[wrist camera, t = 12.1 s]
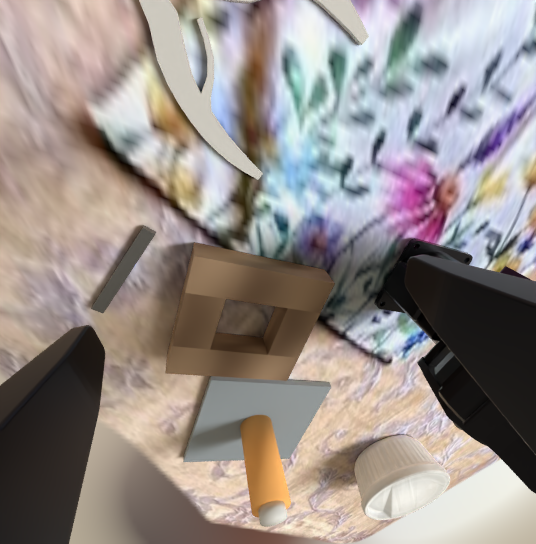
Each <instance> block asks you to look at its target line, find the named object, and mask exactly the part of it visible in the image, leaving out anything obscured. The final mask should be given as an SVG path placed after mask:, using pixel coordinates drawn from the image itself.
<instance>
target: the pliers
mask: <svg viewBox="0 0 536 544" xmlns="http://www.w3.org/2000/svg"><path fill="white" fill-rule="evenodd" d="M139 1H140V4H141V6H142V9H143V11H144V13H145V16H146V18H147V21H148V23H149V27H150V31H151V35H152V40H153V44H154V48H155V53H156V57H157V61H158V63H159V65H160V68H161V70H162V72H163V75H164V77H165V80H166V82H167V84H168V86H169V88H170V90H171V91H172V93H173V95H174V97H175V98H176V100H177V102H178V104H179V105H180V107H181V108H182V110H183V111H184V113H185V114H186V116H187V117H188V119H189V120H190V121H191V123H192V124H193V125H194V127H195V128H196V129H197V130H198V132H199V133H200V134H201V135H202V137H203V138H204V139H205V140H206V141H207V142H208V143H209V144H210V145H211V146H212V147H213V148H214V149H215V150H216V151H217V152H218V153H219V154H220V155H222V156H223V157H224V158H225V159H226V160H227V161H229V162H230V163H231V164H233V165H234V166H236V167H237V168H239V169H240V170H242V171H243V172H245V173H247V174H249V175H250V176H252V177H254V178H256V179H257V180H258V179H259V178H260V177H261V175H262V174H263V173H262V172H261V171H260V170H259V169H258V168H257V167H256V166H255V165H254V164H253V163H252V162H251V161H250V160H249V159H248V158H247V157H246V155H245V154H244V153H243V152H242V151H241V150H240V149H239V148H238V146H237V145H236V144H235V143H234V142H233V141H232V139H231V138H230V137H229V136H228V134H227V133H226V131H225V130H224V129H223V127H222V126H221V124H220V123H219V122H218V120H217V119H216V117H215V116H214V114H213V113H212V111H211V93H212V88H213V82H214V57H213V53H212V48H211V44H210V40H209V36H208V33H207V30H206V27H205V24H204V21H203V18H202V17H201V18H199V19H197V22H198V25H199V28H200V31H201V34H202V37H203V41H204V45H205V50H206V55H207V78H206V81H205V84H204V87H203V89H202V92H201V93H200V90H199V88H198V86H197V84H196V82H195V80H194V78H193V76H192V72H191V69H190V65H189V61H188V57H187V53H186V49H185V45H184V40H183V36H182V31H181V27H180V22H179V18H178V13H177V11H176V10H175V8H174V7H173V5H172V3H171V2H170V0H139ZM225 1H229V2H237V3H252V2H256V1H260V0H225ZM313 1H314V2H316V3H317V4H318V5H320V6H321V7H322V8H323V9H324V10H325V11H326V12H327V13H328V14H329V15H330V16H332V17H333V18H334V19H335V20H336V21H337V22H338V23H339V24H340V25H341V26H342V27H343V28H344V29H345V30H346V31H347V32H348V33H349V34H350V36H351V37H352V38H353V39H354V40H355V41H356V42H357V43H358V44H359V45H362V44H363V43H364V42H365V40H366V39H367V38H368V37H369V36H368V34H367V31H366V29H365V27H364V25H363V23H362V21H361V19H360V17H359V15H358V13H357V11H356V10H355V8H354V6H353V4H352V2H351V1H350V0H313Z"/></svg>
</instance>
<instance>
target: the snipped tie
mask: <svg viewBox="0 0 536 544" xmlns="http://www.w3.org/2000/svg"><path fill="white" fill-rule="evenodd" d="M155 233H156V232H155V231H153V230H151V229H149V228H148V227H146V226H143V227H142V229H141V230H140V232H139V234H138V235H137V237H136V238H135V240H134V241H133V243H132V245H131V246H130V248H129V249H128V251H127V252H126V254H125V256H124V257H123V259H122V260H121V262H120V263H119V265H118V267H117V268H116V270H115V271H114V273H113V274H112V276H111V278H110V279H109V281H108V282H107V284H106V285H105V287H104V289H103V290H102V292H101V293H100V295H99V296H98V298H97V300H96V301H95V303H94V304H93V306H92V308H91V309H93V310H95V311H98V312H101V313H104V311H105V310H106V308H107V307H108V305H109V304H110V302H111V301H112V299H113V298H114V296H115V295H116V293H117V292H118V290H119V289H120V287H121V286H122V284H123V283H124V281H125V280H126V278H127V277H128V275H129V273H130V272H131V270H132V269H133V267H134V266H135V264H136V263H137V261H138V260H139V258H140V257H141V255H142V254H143V252H144V251H145V249H146V248H147V246H148V245H149V243H150V242H151V240H152V239H153V237H154V235H155Z"/></svg>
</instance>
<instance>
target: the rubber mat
mask: <svg viewBox="0 0 536 544" xmlns="http://www.w3.org/2000/svg"><path fill="white" fill-rule="evenodd" d="M330 388H331V385H330V383H329V382H317V381H302V380H287V381H281V380H265V379H249V378H233V377H217V376H210V379H209V382H208V385H207V388H206V391H205V394H204V397H203V400H202V403H201V406H200V409H199V412H198V415H197V418H196V421H195V424H194V427H193V430H192V433H191V436H190V439H189V442H188V445H187V448H186V451H185V454H184V462H201V461H231V460H244V452H243V445H242V438H241V431H240V425H241V423H242V422H243V421H244V420H245V419H247V418H249V417H251V416H254V415H266V416H268V417H269V418H270V419H271V421H272V426H273V430H274V434H275V438H276V442H277V446H278V451H279V455H280V459H289V458H290V457H291V455H292V453H293V451H294V450H295V448H296V446H297V445H298V443H299V441H300V440H301V438H302V436H303V434H304V433H305V431H306V429H307V428H308V426H309V424H310V423H311V421H312V419H313V417H314V416H315V414H316V412H317V411H318V409H319V407H320V405H321V404H322V402H323V400H324V399H325V397H326V395H327V394H328V392H329V390H330Z"/></svg>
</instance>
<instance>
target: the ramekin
mask: <svg viewBox="0 0 536 544" xmlns="http://www.w3.org/2000/svg"><path fill="white" fill-rule="evenodd" d="M354 472H355V477H356V481H357V485H358V489H359V492H360V496H361V506H362V509H363V511H364V513H365V515H366V516H368V517H369V518H372V519H375V520H388V519H394V518H398V517H402V516H405V515H408V514H410V513H412V512H415V511H417V510H419V509H421V508H423V507H425V506H426V505H428V504H429V503H431V502H432V501H434V500H435V499H437V498H438V497H439V496H440V495H441V494H442V493H443V492H444V491H445V490H446V489H447V487H448V485H449V483H450V476H449V474H448V473H447V471H446V470H445V468H444V467H443V466H441V465H439V463H438V462H437V461H436V460H435V459H434V458H433V456H432V455H431V454H430V453H429V452H428V451H427V449H426V448H425V447H424V446H423V445H422V444H421V443H420V442H419V441H418V440H417V439H415V438H412V437H410V436H407V435H395V436H390V437H387V438H384V439H382V440H379V441H377V442H375V443H374V444H372V445H370V446H369V447H367V448H366V449H365V450H364V451H363V452H362V453H361V454H360V455H359V456H358V458H357V460H356V463H355V467H354Z"/></svg>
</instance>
